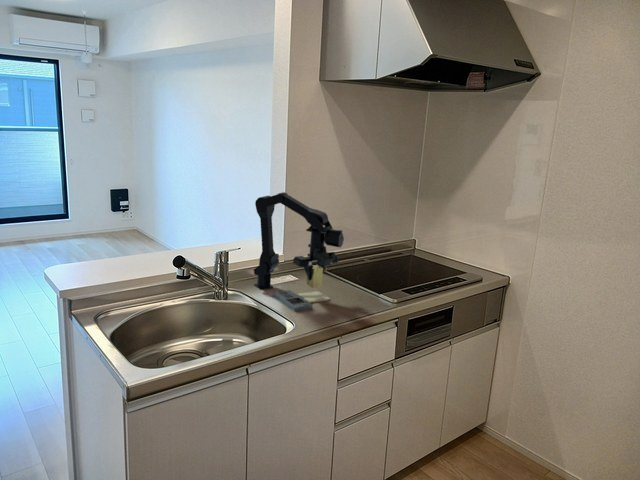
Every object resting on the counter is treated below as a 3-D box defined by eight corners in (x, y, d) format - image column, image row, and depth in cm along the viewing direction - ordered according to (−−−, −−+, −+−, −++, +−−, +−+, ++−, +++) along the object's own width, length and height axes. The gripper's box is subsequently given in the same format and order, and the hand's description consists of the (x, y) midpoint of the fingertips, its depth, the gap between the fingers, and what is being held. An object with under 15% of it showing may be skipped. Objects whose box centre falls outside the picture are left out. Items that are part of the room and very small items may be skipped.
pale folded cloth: (296, 295, 206) (297, 293, 206) (316, 291, 212) (316, 290, 212) (309, 303, 198) (309, 302, 198) (329, 299, 204) (330, 298, 204)
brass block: (306, 284, 204) (308, 265, 202) (315, 282, 207) (317, 264, 205) (312, 287, 201) (313, 269, 199) (321, 286, 203) (323, 267, 201)
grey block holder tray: (272, 296, 203) (272, 292, 203) (289, 293, 208) (289, 289, 207) (294, 311, 189) (294, 307, 189) (312, 308, 193) (312, 304, 193)
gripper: (308, 250, 188) (305, 288, 192) (347, 246, 198) (344, 282, 202) (293, 242, 197) (291, 279, 201) (331, 239, 207) (328, 274, 211)
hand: (314, 279), depth 203 cm, fingers closed on brass block, 4 cm apart
